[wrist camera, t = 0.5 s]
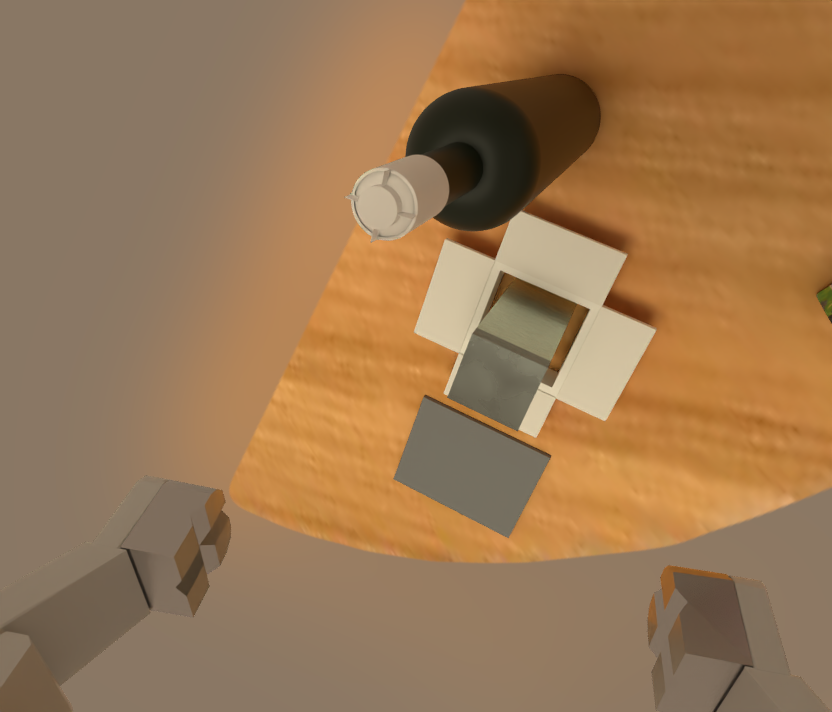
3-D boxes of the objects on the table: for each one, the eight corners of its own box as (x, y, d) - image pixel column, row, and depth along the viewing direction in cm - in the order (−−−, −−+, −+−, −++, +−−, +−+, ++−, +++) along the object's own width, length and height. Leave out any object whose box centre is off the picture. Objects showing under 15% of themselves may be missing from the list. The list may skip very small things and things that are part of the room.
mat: (425, 395, 57) (423, 397, 57) (551, 455, 55) (550, 458, 54) (395, 476, 62) (393, 479, 62) (509, 535, 60) (508, 538, 59)
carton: (474, 180, 48) (462, 187, 45) (685, 266, 45) (685, 278, 42) (413, 358, 56) (400, 372, 53) (588, 441, 53) (583, 460, 50)
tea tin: (516, 276, 50) (472, 333, 39) (577, 302, 49) (547, 367, 39) (494, 330, 52) (447, 397, 42) (551, 356, 51) (517, 431, 41)
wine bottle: (612, 86, 42) (496, 134, 17) (584, 173, 45) (446, 328, 19) (529, 64, 43) (302, 78, 18) (506, 150, 46) (281, 268, 21)
